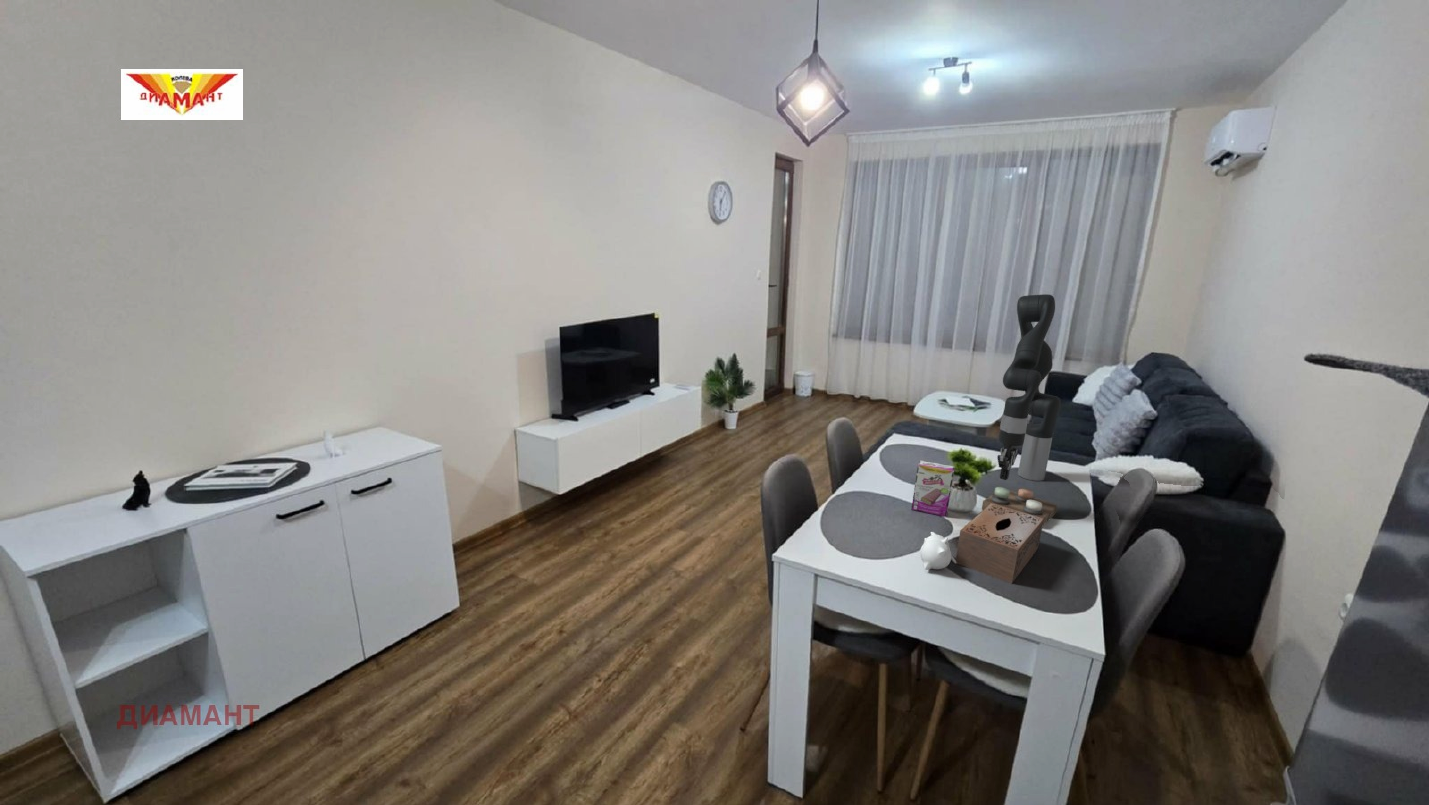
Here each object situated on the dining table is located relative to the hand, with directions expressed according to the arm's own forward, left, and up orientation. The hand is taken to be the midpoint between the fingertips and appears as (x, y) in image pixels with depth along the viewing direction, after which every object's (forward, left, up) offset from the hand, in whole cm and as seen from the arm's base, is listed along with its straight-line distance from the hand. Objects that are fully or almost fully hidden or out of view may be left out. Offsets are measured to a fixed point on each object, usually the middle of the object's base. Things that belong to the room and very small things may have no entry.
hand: (1003, 478), depth 186 cm
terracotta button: (-8, +5, -7) cm, 12 cm away
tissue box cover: (+33, +12, -12) cm, 37 cm away
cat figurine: (+51, +2, -11) cm, 52 cm away
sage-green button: (0, 0, -6) cm, 6 cm away
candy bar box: (+20, -15, -11) cm, 27 cm away
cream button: (0, +10, -7) cm, 12 cm away
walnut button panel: (-4, +5, -11) cm, 13 cm away
